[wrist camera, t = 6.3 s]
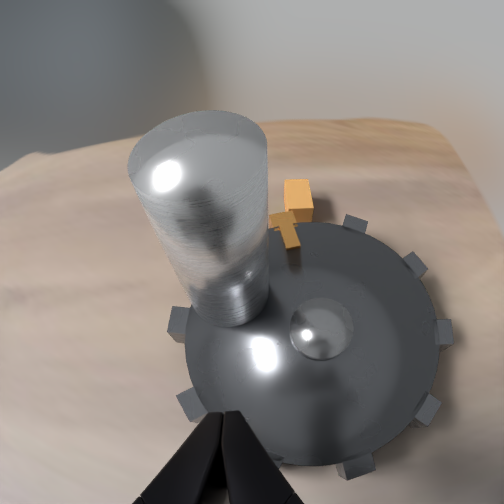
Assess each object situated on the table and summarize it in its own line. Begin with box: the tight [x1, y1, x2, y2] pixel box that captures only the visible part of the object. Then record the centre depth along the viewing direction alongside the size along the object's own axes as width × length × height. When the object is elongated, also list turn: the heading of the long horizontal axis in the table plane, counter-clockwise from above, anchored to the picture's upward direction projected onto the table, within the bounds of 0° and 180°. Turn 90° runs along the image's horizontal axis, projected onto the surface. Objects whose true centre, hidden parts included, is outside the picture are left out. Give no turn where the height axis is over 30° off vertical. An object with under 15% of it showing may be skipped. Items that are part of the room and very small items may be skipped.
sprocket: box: [128, 110, 454, 480], centre depth 12 cm, size 15×14×11 cm
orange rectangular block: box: [284, 179, 314, 223], centre depth 21 cm, size 3×2×2 cm, turn 2°
